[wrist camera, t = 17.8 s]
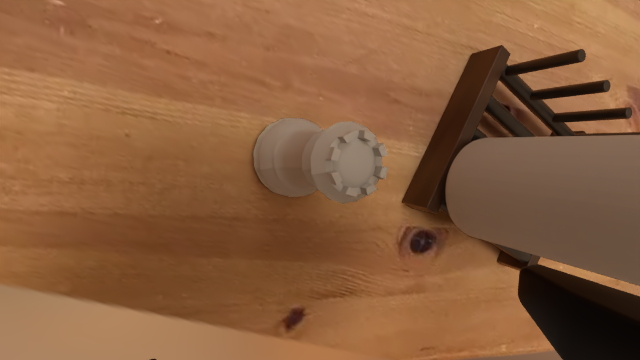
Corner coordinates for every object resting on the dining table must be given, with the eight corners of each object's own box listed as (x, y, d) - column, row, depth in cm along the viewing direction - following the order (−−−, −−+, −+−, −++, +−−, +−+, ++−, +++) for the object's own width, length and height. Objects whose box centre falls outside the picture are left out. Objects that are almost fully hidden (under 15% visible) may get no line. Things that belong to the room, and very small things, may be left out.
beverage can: (479, 117, 23) (766, 93, 12) (520, 187, 25) (794, 219, 14) (419, 186, 21) (688, 229, 11) (469, 254, 24) (732, 346, 13)
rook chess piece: (263, 205, 20) (322, 240, 13) (241, 128, 19) (291, 118, 12) (331, 182, 22) (417, 200, 15) (314, 110, 21) (396, 91, 14)
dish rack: (503, 265, 29) (600, 299, 23) (401, 202, 24) (488, 222, 18) (558, 137, 30) (663, 135, 24) (471, 53, 26) (575, 23, 19)
